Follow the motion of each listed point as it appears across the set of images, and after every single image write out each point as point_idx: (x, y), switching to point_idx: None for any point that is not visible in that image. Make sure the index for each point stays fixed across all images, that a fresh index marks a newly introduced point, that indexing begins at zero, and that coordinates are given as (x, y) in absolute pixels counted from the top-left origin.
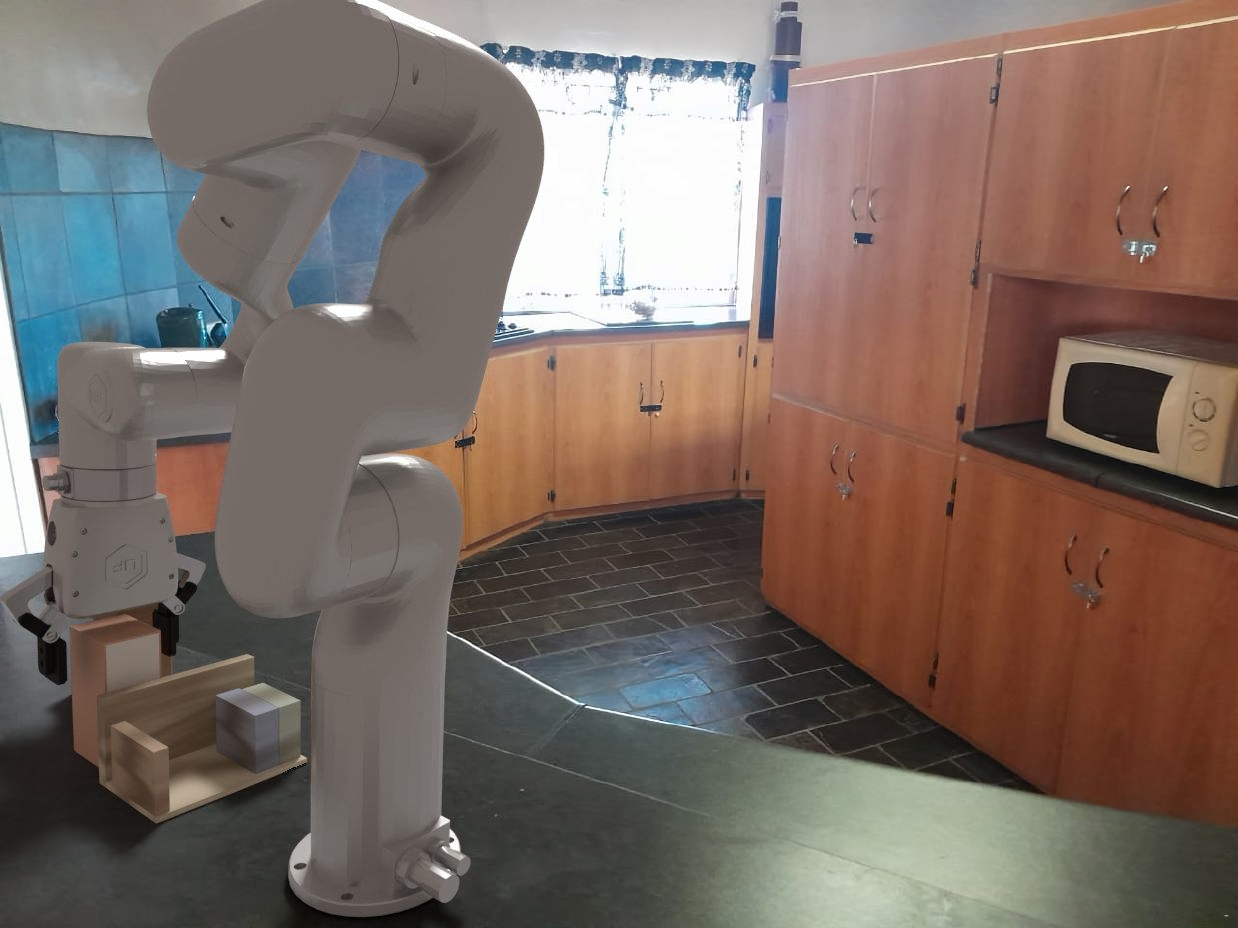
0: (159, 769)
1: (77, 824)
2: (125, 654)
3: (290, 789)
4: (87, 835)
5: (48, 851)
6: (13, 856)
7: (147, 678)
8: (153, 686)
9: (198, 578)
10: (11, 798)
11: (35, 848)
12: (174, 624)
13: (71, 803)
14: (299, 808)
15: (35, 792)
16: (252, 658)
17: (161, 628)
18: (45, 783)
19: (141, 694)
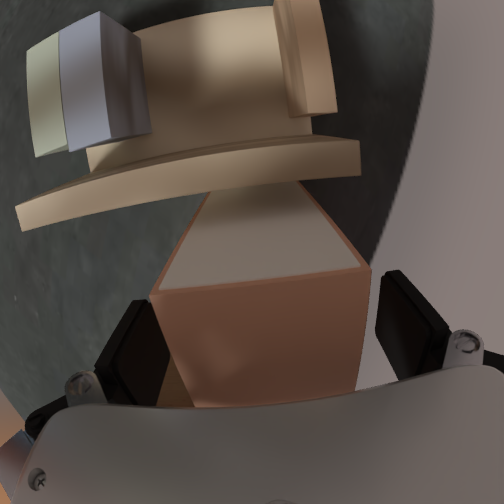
0: None
1: (365, 70)
2: (283, 251)
3: (126, 3)
4: (363, 40)
5: (400, 43)
6: (426, 63)
7: (221, 224)
8: (230, 152)
9: (16, 438)
10: (397, 188)
11: (409, 59)
12: (107, 349)
13: (356, 124)
14: None
15: (376, 184)
16: (18, 205)
17: (142, 367)
18: (360, 200)
19: (262, 146)
